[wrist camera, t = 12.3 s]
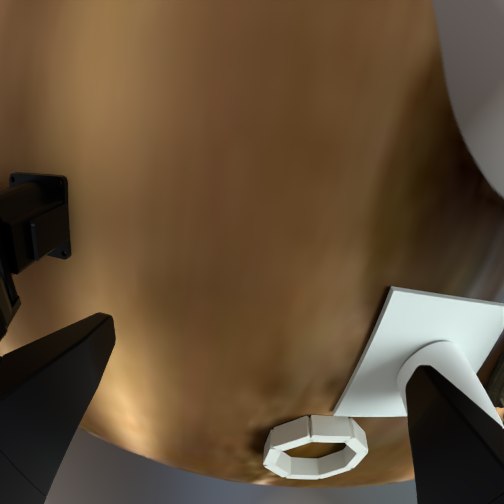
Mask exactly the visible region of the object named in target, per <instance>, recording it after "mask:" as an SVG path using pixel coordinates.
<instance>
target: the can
mask: <svg viewBox="0 0 504 504" xmlns="http://www.w3.org/2000/svg"><path fill="white" fill-rule="evenodd" d="M419 365H431V366H432V367H433V368H435V369H436V370H437V371H438V372H439V373H441V374H442V375H443V376H444V377H445V378H447V379H448V380H449V381H450V382H451V383H452V384H454V385H455V386H456V387H457V388H458V389H459V390H461V391H462V392H463V393H464V394H465V395H466V396H468V397H469V398H470V399H471V400H472V401H473V402H475V403H476V404H477V405H478V406H479V407H480V408H482V409H483V410H484V411H485V412H486V413H487V414H488V415H490V416H491V417H492V418H493V419H494V420H495V421H496V422H498V423H499V424H500V425H501V426H502V427H503V429H504V425H503V423H502V421H501V419H500V417H499V415H498V413H497V411H496V410H495V408H494V406H493V404H492V402H491V400H490V398H489V397H488V395H487V393H486V391H485V389H484V388H483V386H482V384H481V382H480V381H479V379H478V377H477V376H476V374H475V372H474V371H473V369H472V367H471V366H470V364H469V362H468V361H467V359H466V358H465V356H464V355H463V353H462V352H461V350H460V349H459V347H458V346H457V345H456V344H454V343H452V342H446V341H438V342H433V343H430V344H428V345H425V346H423V347H422V348H420V349H418V350H417V351H416V352H414V353H413V354H412V355H411V356H410V357H409V358H408V359H407V360H406V361H405V362H404V364H403V365H402V367H401V369H400V371H399V373H398V376H397V386H398V389H399V392H400V395H401V398H402V401H403V404H404V407H405V410H406V413H407V404H406V393H405V388H406V384H407V382H408V380H409V379H410V377H411V376H412V374H413V372H414V371H415V369H416V368H417V367H418V366H419Z"/></svg>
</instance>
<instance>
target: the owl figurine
mask: <svg viewBox="0 0 504 504" xmlns="http://www.w3.org/2000/svg"><path fill="white" fill-rule="evenodd" d="M486 393H487V395H488V397H489V398H490V400H491V402H492V404H493V406H494V407H499V408H504V352H503V354H502V355H501V357H500V359H499V360H498V362H497V364H496V366H495V368H494V370H493V372H492V374H491V376H490V378H489V381H488V384H487V387H486ZM503 418H504V415H503ZM503 425H504V422H503Z"/></svg>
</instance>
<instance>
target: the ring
mask: <svg viewBox="0 0 504 504" xmlns="http://www.w3.org/2000/svg"><path fill="white" fill-rule="evenodd" d="M309 442H334V443H345V444H347V445H346V447H345V448H344V449H343V450H341V451H339V452H336V453H333V454H330V455H327V456H324V457H321V458H296V457H290V456H288V455H287V454H285V453H284V452H282V451H284V450H288V449H291V448H294V447H297V446H300V445H303V444H306V443H309ZM367 453H368V446H367V441H366V435H365V432H364V431H363V430H362V428H361V427H360V426H359V425H358V424H357V423H356V422H355V421H354V420H353V419H352V418H350V419H348V417H345V416H323V415H311V417H310V418H309V417H308V416H304V417H301V418H299V419H296V420H293V421H291V422H288V423H285V424H282V425H279V426H276V427H274V429H273V430H272V429H271V431H270V433H269V436H268V438H267V441H266V443H265V446H264V457H263V465H264V467H266V468H267V469H269V470H271V471H273V472H274V473H276V474H278V475H280V476H281V477H286V478H292V479H318V478H321V479H322V478H326V477H329V476H332V475H336V474H339V473H342V472H345V471H348V470H351V468H354V467H355V466H356V465H357V464H358V463H359V462H360V461H361V460H362V459H363V457H364V456H365V455H366V454H367Z"/></svg>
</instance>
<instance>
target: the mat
mask: <svg viewBox="0 0 504 504" xmlns="http://www.w3.org/2000/svg"><path fill="white" fill-rule="evenodd" d="M503 329H504V303H498V302H491V301H484V300H478V299H471V298H464V297H457V296H451V295H444V294H438V293H431V292H425V291H418V290H412V289H406V288H399V287H393V286H391V288H390V291H389V293H388V296H387V298H386V301H385V303H384V306H383V308H382V311H381V313H380V316H379V318H378V320H377V323H376V325H375V327H374V330H373V332H372V334H371V336H370V339H369V341H368V343H367V345H366V347H365V350H364V352H363V354H362V356H361V358H360V360H359V362H358V364H357V366H356V368H355V370H354V372H353V374H352V376H351V378H350V380H349V382H348V384H347V386H346V388H345V390H344V392H343V394H342V395H341V397H340V399H339V401H338V403H337V405H336V406H335V408H334V410H333V416H350V417H392V416H407V413H406V410H405V407H404V404H403V401H402V398H401V395H400V392H399V389H398V386H397V376H398V373H399V371H400V369H401V367H402V365H403V364H404V362H405V361H406V360H407V359H408V358H409V357H410V356H411V355H412V354H413V353H414V352H416V351H417V350H418V349H420V348H422V347H423V346H425V345H428V344H430V343H433V342H438V341H446V342H452V343H454V344H456V345H457V346H458V347H459V349H460V350H461V352H462V353H463V355H464V356H465V358H466V359H467V361H468V362H469V364H470V366H471V367H472V369H473V371H474V372H475V374H476V373H477V372H478V370H479V369H480V367H481V366H482V364H483V362H484V361H485V359H486V358H487V356H488V355H489V353H490V351H491V350H492V348H493V346H494V345H495V343H496V341H497V339H498V338H499V336H500V334H501V332H502V331H503Z"/></svg>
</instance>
